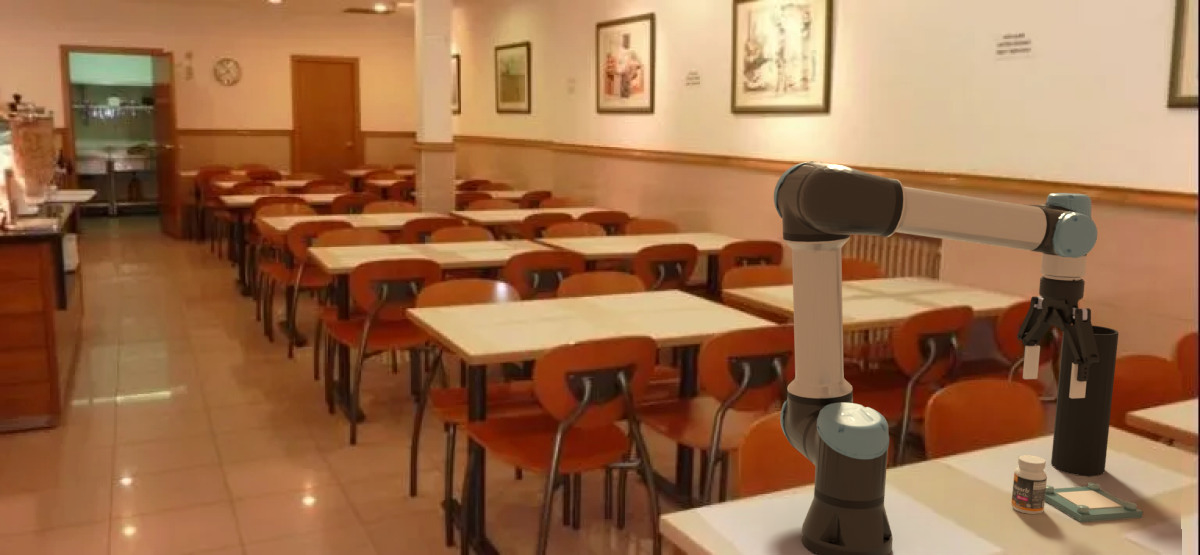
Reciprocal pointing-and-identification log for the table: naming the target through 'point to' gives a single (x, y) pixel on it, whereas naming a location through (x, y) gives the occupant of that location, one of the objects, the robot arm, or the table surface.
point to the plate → (1090, 503)
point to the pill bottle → (1029, 485)
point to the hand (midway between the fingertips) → (1052, 388)
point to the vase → (1085, 410)
